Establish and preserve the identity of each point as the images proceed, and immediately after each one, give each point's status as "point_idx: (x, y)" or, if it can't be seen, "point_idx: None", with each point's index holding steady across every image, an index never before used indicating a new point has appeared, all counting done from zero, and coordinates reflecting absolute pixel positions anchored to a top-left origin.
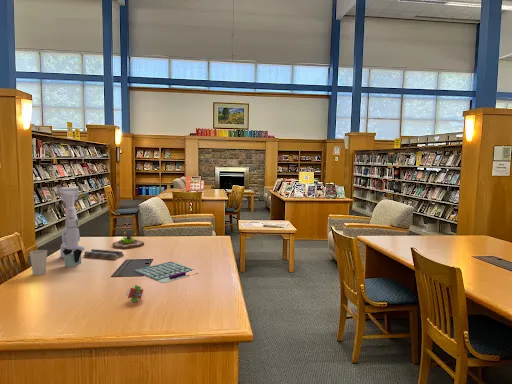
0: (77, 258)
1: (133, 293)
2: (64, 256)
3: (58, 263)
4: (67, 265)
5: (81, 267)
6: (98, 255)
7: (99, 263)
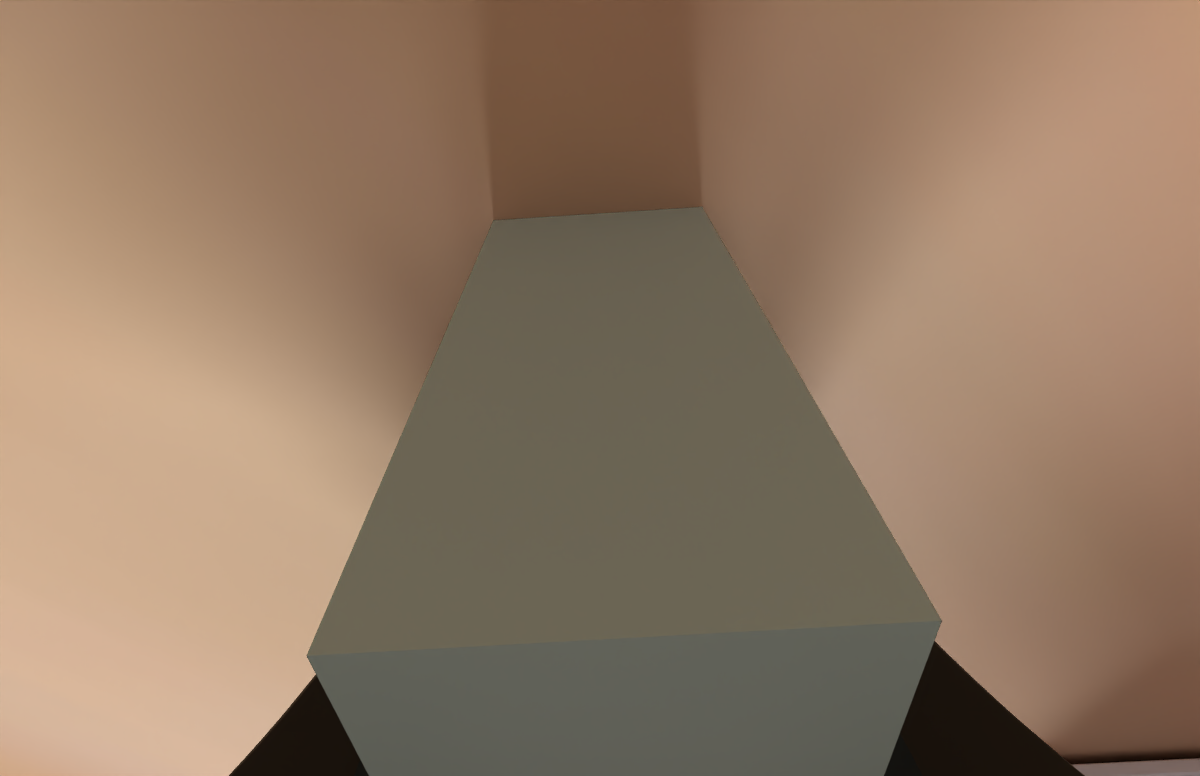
0: None
1: None
2: (854, 541)
3: (1177, 469)
4: (562, 249)
5: (158, 397)
6: None
7: (152, 724)
